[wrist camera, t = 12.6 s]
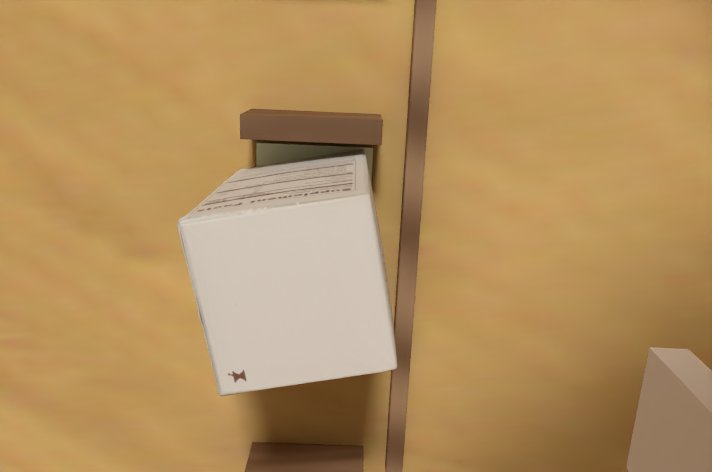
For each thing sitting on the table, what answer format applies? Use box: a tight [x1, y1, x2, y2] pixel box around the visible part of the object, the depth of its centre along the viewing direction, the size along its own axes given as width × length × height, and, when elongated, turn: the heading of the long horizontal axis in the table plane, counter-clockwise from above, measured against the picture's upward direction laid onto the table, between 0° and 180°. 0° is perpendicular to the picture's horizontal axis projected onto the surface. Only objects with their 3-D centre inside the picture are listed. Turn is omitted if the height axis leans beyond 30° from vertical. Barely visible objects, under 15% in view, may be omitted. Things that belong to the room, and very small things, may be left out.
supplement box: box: [178, 149, 397, 396], centre depth 29 cm, size 7×7×13 cm
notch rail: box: [240, 0, 436, 472], centre depth 34 cm, size 32×10×4 cm, turn 178°
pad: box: [256, 142, 373, 181], centre depth 35 cm, size 8×6×1 cm
